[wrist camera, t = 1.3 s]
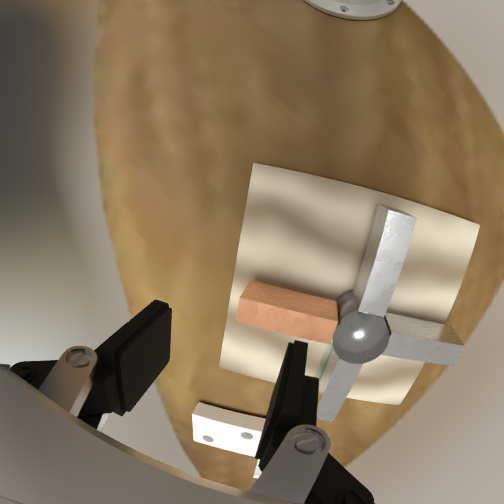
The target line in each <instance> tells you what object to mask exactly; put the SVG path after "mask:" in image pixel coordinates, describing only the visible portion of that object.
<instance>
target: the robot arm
mask: <svg viewBox="0 0 504 504" xmlns="http://www.w3.org/2000/svg"><path fill="white" fill-rule="evenodd" d="M304 1H305V2H307V3H308V4H310V5H311V6H313V7H314V8H316V9H318V10H320V11H322V12H325V13H327V14H330V15H333V16H336V17H341V18H345V19H353V20H371V19H378V18H381V17H384V16H387V15H388V14H390V13H392V12H393V11H394V10H395V9H396V8H397V7H398V6H399V4H400V2H401V1H402V0H304ZM343 11H344V12H343ZM171 319H172V309H171V308H169V305H168V303H165V302H162V301H159V300H154V301H153V302H151V303H150V304H149V305H148V306H147V307H146V308H144V309H143V310H142V311H141V312H140V313H138V314H137V315H136V316H135V317H134V318H132V319H131V320H130V321H129V322H127V323H126V324H125V325H123V326H122V327H121V328H120V329H119V330H118V331H116V332H115V333H114V334H113V335H112V336H111V337H109V338H108V339H107V340H106V341H105V342H103V343H102V344H101V345H100V346H99V347H98V348H97V349H95V350H92V349H91V348H89V347H86V346H74V347H71V348H69V349H67V350H66V351H65V352H64V353H63V354H62V356H61V357H60V359H59V360H50V361H24V362H19V363H16V364H15V365H13V366H12V367H11V366H10V365H7V364H0V504H375V503H374V498H373V496H372V494H371V492H370V491H369V490H368V489H367V488H366V487H365V486H364V485H362V484H361V483H360V482H359V481H358V480H357V479H356V478H355V477H353V476H352V475H351V474H350V473H349V472H348V471H347V470H346V469H345V468H344V467H343V466H342V465H341V464H340V463H339V462H338V461H337V460H336V459H334V458H333V457H332V456H331V455H330V454H329V453H328V452H329V450H330V446H331V442H330V438H329V437H328V435H327V434H326V433H325V432H324V431H323V430H322V429H320V428H318V427H316V420H317V408H318V393H319V378H316V377H312V376H307V375H305V369H306V360H307V351H308V343H307V342H302V341H298V340H295V341H294V343H291V342H289V343H288V346H287V349H286V352H285V356H284V359H283V362H282V365H281V368H280V372H279V375H278V378H277V381H276V384H275V387H274V390H273V393H272V397H271V401H270V405H269V409H268V412H267V416H266V420H265V423H264V427H263V431H262V434H261V438H260V441H259V445H258V448H257V452H256V455H255V458H256V459H260V461H259V465H258V467H260V468H259V469H260V471H261V472H262V473H261V475H260V476H259V478H258V479H257V480H256V482H255V483H254V485H253V486H252V487H251V489H250V490H249V491H245V490H241V489H237V488H234V487H230V486H227V485H223V484H220V483H217V482H213V481H210V480H207V479H204V478H201V477H198V476H195V475H193V474H190V473H187V472H185V471H182V470H179V469H177V468H174V467H172V466H169V465H167V464H165V463H162V462H160V461H158V460H155V459H153V458H151V457H149V456H147V455H144V454H142V453H140V452H138V451H136V450H134V449H132V448H130V447H128V446H126V445H124V444H122V443H120V442H118V441H116V440H114V439H113V438H111V437H109V436H107V435H105V434H104V433H102V430H103V427H104V425H105V422H106V419H107V417H108V413H112V412H114V413H116V414H118V415H120V416H123V415H124V413H125V412H126V411H128V412H130V411H131V410H132V408H133V407H134V406H135V405H136V403H137V402H138V401H139V400H140V398H141V397H142V396H143V395H144V393H145V392H146V391H147V389H148V388H149V387H150V386H151V384H152V383H153V382H154V380H155V379H156V378H157V377H158V375H159V374H160V373H161V371H162V370H163V369H164V368H165V366H166V365H167V364H168V362H169V359H170V343H171Z"/></svg>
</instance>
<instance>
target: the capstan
mask: <svg viewBox="0 0 504 504" xmlns="http://www.w3.org/2000/svg"><path fill="white" fill-rule="evenodd" d="M416 219H417V218H415V217H414V216H412V215H410V214H408V213H406V212H404V211H402V210H399V209H395V208H392V207H388V206H385V205H381V204H378V207H377V211H376V215H375V219H374V223H373V227H372V231H371V235H370V238H369V242H368V245H367V249H366V252H365V256H364V259H363V263H362V266H361V269H360V273H359V276H358V279H357V282H356V285H355V288H354V289H353V290H349V291H347V292H345V293H343V294H341V295H340V296H339V297H338V298H337V299H336V301H334V300H330V299H325V298H321V297H317V296H313V295H309V294H304V293H300V292H296V291H292V290H288V289H284V288H280V287H276V286H272V285H268V284H264V283H260V282H256V281H252V280H250V281H249V283H248V285H247V286H246V288H245V289H244V291H243V293H242V294H241V296H240V298H239V304H238V309H237V315H236V320H235V321H237V322H240V323H244V324H248V325H251V326H255V327H259V328H263V329H266V330H270V331H274V332H278V333H282V334H286V335H290V336H294V337H299V338H303V339H307V340H311V341H316V342H320V343H325V344H329V345H330V343H331V340H332V338H333V349H332V352H331V354H330V357H329V359H328V362H327V364H326V367H325V369H324V372H323V374H322V376H321V379H320V381H319V393H318V408H317V419H319V420H325V421H331V422H333V421H334V419H335V417H336V415H337V414H338V412H339V410H340V408H341V406H342V405H343V403H344V401H345V399H346V397H347V395H348V394H349V392H350V390H351V388H352V386H353V384H354V382H355V380H356V378H357V376H358V374H359V372H360V370H361V368H362V366H363V363H367V362H370V361H372V360H374V359H376V358H377V357H379V356H380V355H385V356H390V357H396V358H402V359H408V360H415V361H421V362H428V363H435V364H443V365H451V366H453V365H454V364H455V362H456V361H457V359H458V357H459V355H460V353H461V352H462V350H463V348H464V344H463V343H462V341H461V340H460V338H459V337H458V335H457V334H456V332H455V331H454V329H453V328H452V327H451V326H449V325H444V324H439V323H434V322H429V321H424V320H420V319H415V318H410V317H405V316H401V315H396V314H391V313H387V312H386V311H387V308H388V305H389V303H390V300H391V298H392V295H393V292H394V289H395V287H396V284H397V281H398V278H399V275H400V272H401V269H402V266H403V263H404V260H405V257H406V254H407V250H408V247H409V244H410V240H411V237H412V233H413V230H414V226H415V222H416Z"/></svg>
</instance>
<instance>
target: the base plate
mask: <svg viewBox="0 0 504 504" xmlns="http://www.w3.org/2000/svg"><path fill="white" fill-rule="evenodd" d="M378 204H381V205H385V206H388V207H392V208H395V209H399V210H402V211H404V212H406V213H408V214H410V215H412V216H414V217H415V218H417V219H416V222H415V226H414V230H413V233H412V237H411V240H410V244H409V247H408V250H407V254H406V257H405V260H404V263H403V266H402V269H401V272H400V275H399V278H398V281H397V284H396V287H395V289H394V292H393V295H392V298H391V300H390V303H389V305H388V308H387V311H386V312H387V313H391V314H396V315H401V316H405V317H410V318H415V319H420V320H424V321H429V322H434V323H439V324H445V322H446V319H447V317H448V315H449V313H450V310H451V308H452V306H453V303H454V301H455V298H456V296H457V293H458V291H459V288H460V286H461V283H462V280H463V278H464V275H465V272H466V269H467V266H468V263H469V260H470V257H471V254H472V251H473V248H474V245H475V241H476V238H477V234H478V231H479V227H480V225H478V224H476V223H473V222H471V221H468V220H465V219H463V218H460V217H457V216H454V215H452V214H449V213H446V212H443V211H440V210H437V209H434V208H431V207H428V206H425V205H422V204H419V203H416V202H413V201H410V200H406V199H403V198H400V197H396V196H393V195H390V194H386V193H383V192H379V191H376V190H372V189H368V188H365V187H361V186H357V185H353V184H349V183H346V182H342V181H338V180H333V179H329V178H325V177H321V176H316V175H312V174H308V173H303V172H298V171H294V170H289V169H284V168H279V167H274V166H269V165H263V164H258V163H253V168H252V174H251V179H250V185H249V191H248V196H247V202H246V208H245V213H244V219H243V225H242V230H241V236H240V242H239V248H238V254H237V260H236V266H235V272H234V277H233V283H232V290H231V296H230V302H229V308H228V314H227V320H226V326H225V332H224V339H223V345H222V351H221V358H220V364H219V367H220V368H224V369H227V370H230V371H234V372H237V373H240V374H244V375H247V376H251V377H255V378H258V379H262V380H266V381H270V382H274V383H276V381H277V378H278V375H279V372H280V368H281V365H282V362H283V359H284V356H285V352H286V349H287V346H288V343H289V342H291V343H294V341H295V340H298V341H302V342H307V343H308V351H307V360H306V369H305V375H307V376H312V377H316V378H319V381H320V379H321V376H322V374H323V372H324V369H325V367H326V364H327V362H328V359H329V357H330V354H331V352H332V349H333V338H332V340H331V343H330V345H329V344H325V343H320V342H316V341H311V340H307V339H303V338H299V337H294V336H290V335H286V334H282V333H278V332H274V331H270V330H266V329H263V328H259V327H255V326H251V325H248V324H244V323H240V322H237V321H235V320H236V315H237V309H238V304H239V298H240V296H241V294H242V293H243V291H244V289H245V288H246V286H247V285H248V283H249V281H250V280H252V281H256V282H260V283H264V284H268V285H272V286H276V287H280V288H284V289H288V290H292V291H296V292H300V293H304V294H309V295H313V296H317V297H321V298H325V299H330V300H334V301H336V299H337V298H338V297H339V296H340V295H341V294H343V293H345V292H347V291H349V290H353V289H354V288H355V285H356V282H357V279H358V276H359V273H360V269H361V266H362V263H363V259H364V256H365V252H366V249H367V245H368V242H369V238H370V235H371V231H372V227H373V223H374V219H375V215H376V211H377V207H378ZM424 363H425V362H421V361H415V360H408V359H402V358H396V357H390V356H385V355H380V356H379V357H377V358H376V359H374V360H372V361H370V362H367V363H363V366H362V368H361V370H360V372H359V374H358V376H357V378H356V380H355V382H354V384H353V386H352V388H351V390H350V392H349V394H348V395H347V397H346V398H352V399H358V400H365V401H372V402H379V403H387V404H396V405H400V403H401V402H402V400H403V398H404V397H405V395H406V394H407V392H408V391H409V389H410V387H411V386H412V384H413V382H414V381H415V379H416V377H417V376H418V374H419V372H420V370H421V369H422V367H423V365H424Z"/></svg>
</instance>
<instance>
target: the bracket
mask: <svg viewBox="0 0 504 504" xmlns="http://www.w3.org/2000/svg"><path fill="white" fill-rule="evenodd" d="M265 420H266V419H265V418H260V417H255V416H250V415H246V414H242V413H237V412H233V411H229V410H225V409H222V408H218V407H214V406H211V405H207V404H204V403H200V402H198V404H197V406H196V408H195V410H194V411H193V413H192V421H193V437H194V441H197V442H200V443H204V444H207V445H210V446H214V447H217V448H221V449H225V450H229V451H233V452H237V453H241V454H245V455H250V456H254V457H255V455H256V452H257V448H258V445H259V441H260V438H261V434H262V431H263V427H264V423H265ZM259 461H260V459H258V463H257V466H256V470H255V473H254V477H253V478H259V476H260V475H261V473H262V472H261V471H260V469H259V468H260V467H258V465H259Z"/></svg>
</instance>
